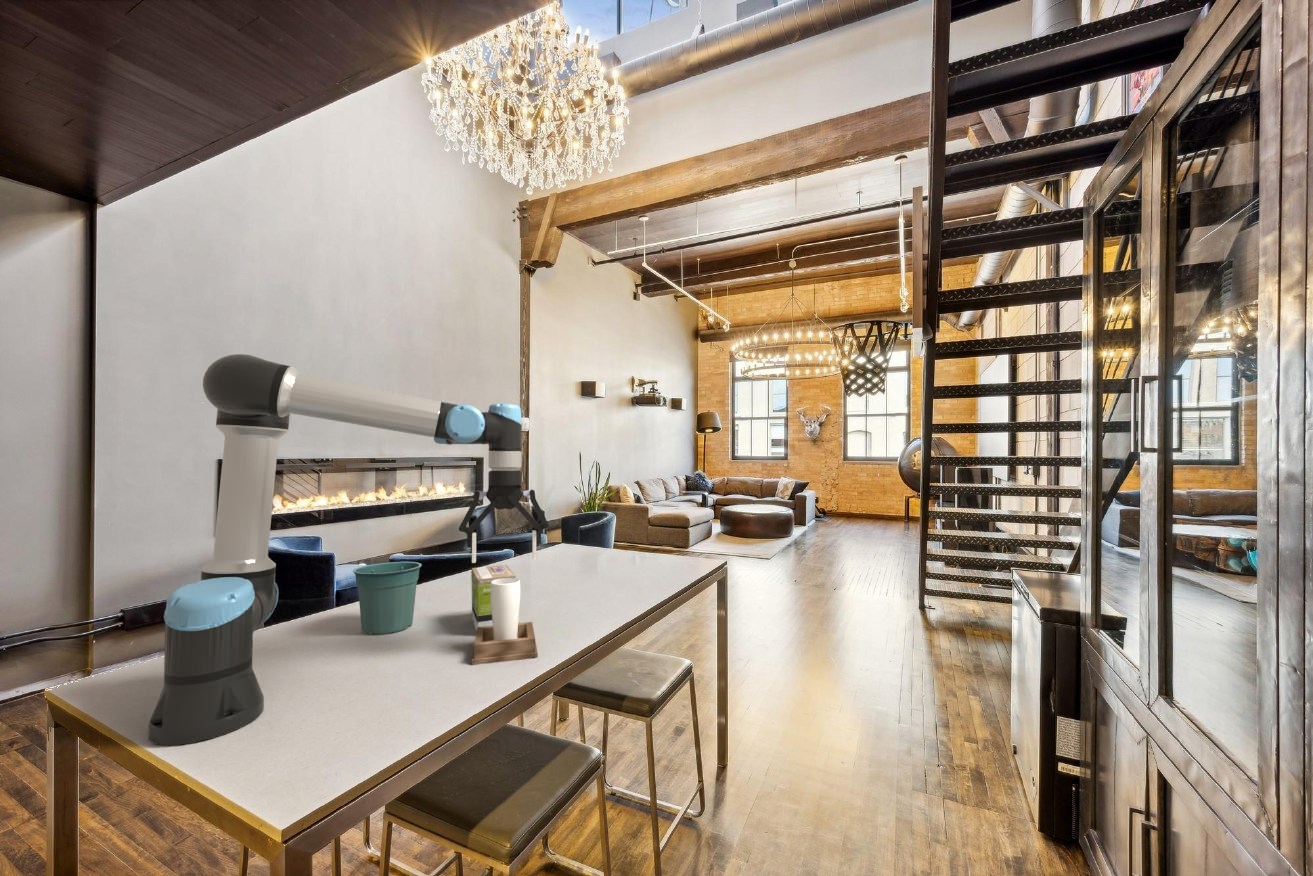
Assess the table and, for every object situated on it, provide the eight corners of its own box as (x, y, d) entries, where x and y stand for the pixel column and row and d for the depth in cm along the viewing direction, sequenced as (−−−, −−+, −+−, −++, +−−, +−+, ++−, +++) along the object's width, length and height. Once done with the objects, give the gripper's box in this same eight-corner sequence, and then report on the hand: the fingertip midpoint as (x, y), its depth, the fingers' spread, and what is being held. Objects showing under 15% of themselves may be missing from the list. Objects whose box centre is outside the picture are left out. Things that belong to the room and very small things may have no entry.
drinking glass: (484, 649, 122) (484, 583, 122) (500, 639, 128) (500, 577, 129) (511, 652, 120) (511, 585, 120) (525, 641, 126) (525, 578, 127)
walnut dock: (471, 664, 115) (471, 646, 115) (475, 643, 129) (475, 626, 129) (537, 657, 119) (537, 639, 119) (534, 637, 133) (534, 621, 133)
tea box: (470, 620, 147) (470, 567, 148) (507, 615, 151) (507, 563, 152) (476, 637, 133) (476, 577, 134) (517, 631, 138) (517, 573, 138)
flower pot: (365, 620, 148) (366, 562, 149) (427, 616, 151) (428, 559, 152) (341, 640, 132) (342, 575, 132) (412, 635, 135) (412, 571, 135)
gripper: (556, 468, 133) (556, 554, 132) (450, 469, 126) (449, 560, 125) (560, 469, 125) (559, 559, 124) (447, 470, 118) (446, 566, 118)
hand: (504, 560), depth 125 cm, fingers open, 13 cm apart
